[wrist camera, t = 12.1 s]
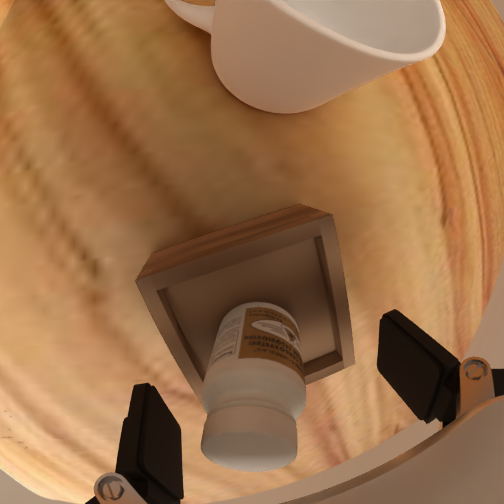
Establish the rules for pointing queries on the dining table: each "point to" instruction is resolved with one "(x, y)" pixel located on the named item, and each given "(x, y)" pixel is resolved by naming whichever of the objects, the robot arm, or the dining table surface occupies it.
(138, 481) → the robot arm
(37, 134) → the dining table surface
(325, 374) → the walnut box
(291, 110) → the mug
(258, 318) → the pill bottle
